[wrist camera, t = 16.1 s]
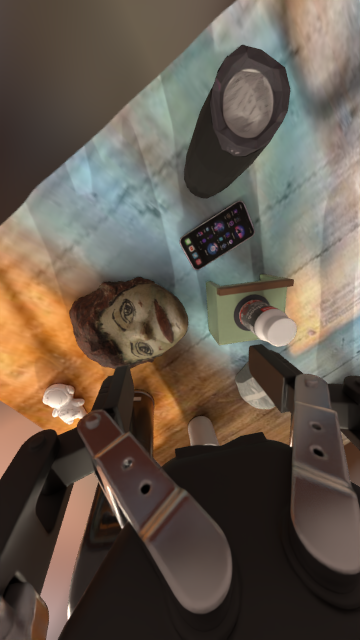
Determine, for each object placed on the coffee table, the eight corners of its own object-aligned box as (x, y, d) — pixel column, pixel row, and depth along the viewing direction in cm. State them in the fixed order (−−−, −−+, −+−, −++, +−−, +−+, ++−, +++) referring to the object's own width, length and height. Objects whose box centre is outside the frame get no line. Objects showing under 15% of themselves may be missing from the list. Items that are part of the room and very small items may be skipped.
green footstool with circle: (263, 322, 49) (288, 339, 39) (208, 330, 48) (221, 349, 38) (264, 273, 45) (294, 279, 35) (205, 281, 44) (219, 289, 34)
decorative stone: (279, 382, 56) (293, 397, 50) (252, 404, 57) (263, 421, 52) (253, 356, 52) (265, 368, 46) (224, 380, 53) (233, 395, 48)
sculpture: (203, 363, 39) (86, 403, 39) (195, 342, 48) (100, 375, 48) (170, 261, 32) (28, 310, 32) (167, 259, 41) (56, 297, 41)
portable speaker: (232, 156, 36) (312, 59, 18) (215, 210, 39) (270, 172, 21) (189, 137, 35) (229, 7, 16) (175, 194, 37) (195, 138, 19)
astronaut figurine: (62, 424, 51) (56, 434, 49) (38, 389, 47) (30, 397, 44) (93, 413, 52) (90, 423, 49) (72, 378, 47) (67, 386, 45)
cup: (204, 411, 56) (212, 439, 47) (219, 431, 59) (230, 461, 51) (182, 423, 56) (187, 453, 48) (199, 443, 60) (206, 474, 51)
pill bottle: (256, 293, 37) (290, 306, 28) (270, 314, 39) (307, 333, 30) (232, 311, 38) (258, 331, 28) (247, 332, 40) (275, 356, 30)
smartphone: (177, 239, 39) (242, 198, 38) (177, 239, 40) (241, 198, 39) (195, 272, 42) (256, 234, 41) (194, 271, 42) (255, 234, 41)
